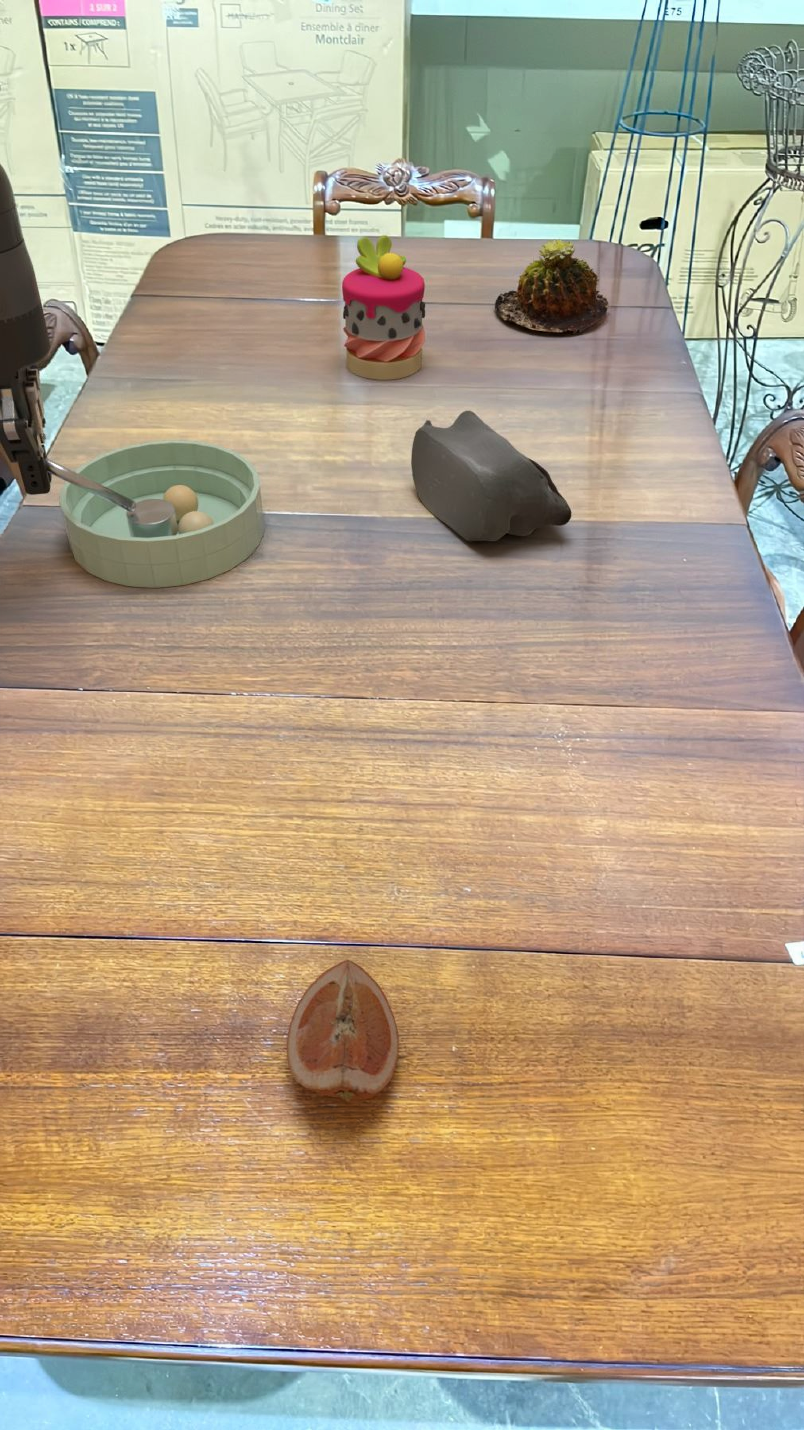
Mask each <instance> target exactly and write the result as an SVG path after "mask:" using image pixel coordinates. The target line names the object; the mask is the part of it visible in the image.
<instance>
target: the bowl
mask: <svg viewBox="0 0 804 1430" xmlns="http://www.w3.org/2000/svg"><path fill="white" fill-rule="evenodd" d="M74 472H76V473H78V474H80V475H82V476H84V477H86V478H88V479H90V480H92V481H94V482H96V483H98V484H101V485H103V486H105V487H107V488H109V489H111V490H113V491H115V492H117V493H119V494H121V495H123V496H125V497H127V498H129V499H131V500H133V501H135V503H136V502H139V501H142V500H146V499H162V500H163V496H164V494H165V492H166V491H167V490H168V489H169V488H171V487H173V486H176V485H184V486H187V487H189V488H191V489H192V490H193V491H194V492H195V494H196V495H197V498H198V503H199V504H198V510H197V511H200V512H203V513H205V514H207V515H208V516H209V517H210V518H211V519H212V520H213V522H214V524H213V525H210V526H208V527H205V528H203V529H200V530H196V531H192V532H188V533H183V534H179V533H177V535H175V536H164V537H152V538H140V537H131V536H130V532H129V527H128V522H127V517H126V512H127V510H125V509H123V508H121V507H119V506H117V505H115V504H113V503H111V502H109V501H107V500H104V499H102V498H100V497H98V496H96V495H94V494H92V493H90V492H88V491H86V490H84V489H82V488H80V487H78V486H75V485H73V484H71V483H69V482H67V481H65V482H64V484H63V485H62V486H61V488H60V492H59V493H60V494H59V501H58V503H59V507H60V512H61V516H62V520H63V524H64V528H65V533H66V536H67V541H68V545H69V549H70V551H71V553H72V556H73V558H74V561H75V562H76V563H77V564H78V565H79V566H81V567H82V568H83V570H85V571H86V572H87V573H88V574H90V575H92V576H94V577H97V578H99V579H101V580H102V581H104V582H108V583H113V584H115V585H116V584H117V585H120V586H126V587H134V588H149V589H150V588H151V589H158V588H159V589H160V588H168V587H169V588H171V587H181V586H185V585H190V584H191V585H192V584H194V583H199V582H203V581H206V580H209V579H212V578H214V577H217V576H220V575H221V574H224V573H226V572H229V571H231V570H232V569H234V568H235V567H237V566H239V564H241V563H243V562H245V560H248V558H249V557H250V556H251V555H252V554H253V553H254V552H255V551H256V549H257V548H258V547H259V546H260V544H261V541H262V538H263V536H264V533H265V523H264V512H263V510H264V509H263V501H262V492H261V491H262V490H261V483H260V482H261V481H260V476H259V472H258V471H257V469H256V468H255V466H254V465H253V464H252V462H251V461H250V460H249V459H247V458H246V457H244V456H243V455H241V454H240V453H239V452H237V451H235V450H232V449H230V448H227V447H224V446H221V445H218V444H214V443H208V442H204V441H199V440H178V439H169V440H156V441H146V442H141V443H137V444H131V445H126V446H121V447H119V448H117V449H114V450H111V451H108V452H105V453H102V454H100V455H98V456H96V457H94V458H92V459H90V460H88V461H86V462H85V463H83V464H82V465H81V466H79V467H78V468H77V469H76V470H75V471H74ZM179 522H180V521H177V526H178V525H179Z"/></svg>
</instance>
